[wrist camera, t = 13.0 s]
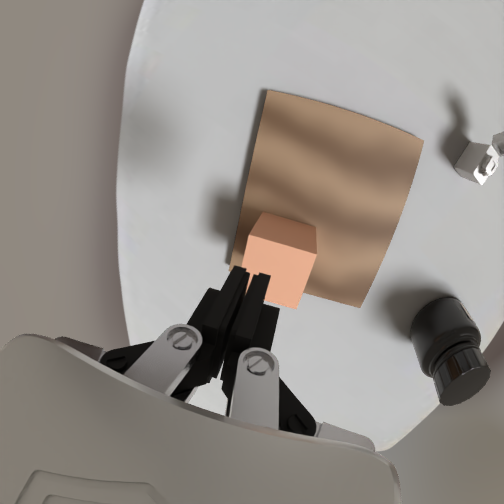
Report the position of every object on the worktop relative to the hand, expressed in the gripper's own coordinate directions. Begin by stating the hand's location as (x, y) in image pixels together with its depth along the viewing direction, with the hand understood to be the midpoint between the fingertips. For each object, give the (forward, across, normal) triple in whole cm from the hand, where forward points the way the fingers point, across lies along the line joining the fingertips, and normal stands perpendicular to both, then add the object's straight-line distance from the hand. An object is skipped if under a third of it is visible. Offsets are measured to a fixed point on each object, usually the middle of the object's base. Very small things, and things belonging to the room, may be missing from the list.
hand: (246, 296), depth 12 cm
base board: (+18, -4, 0) cm, 18 cm away
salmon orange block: (+16, -1, +5) cm, 17 cm away
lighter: (+18, -19, -12) cm, 29 cm away
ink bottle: (+17, -25, +10) cm, 32 cm away
